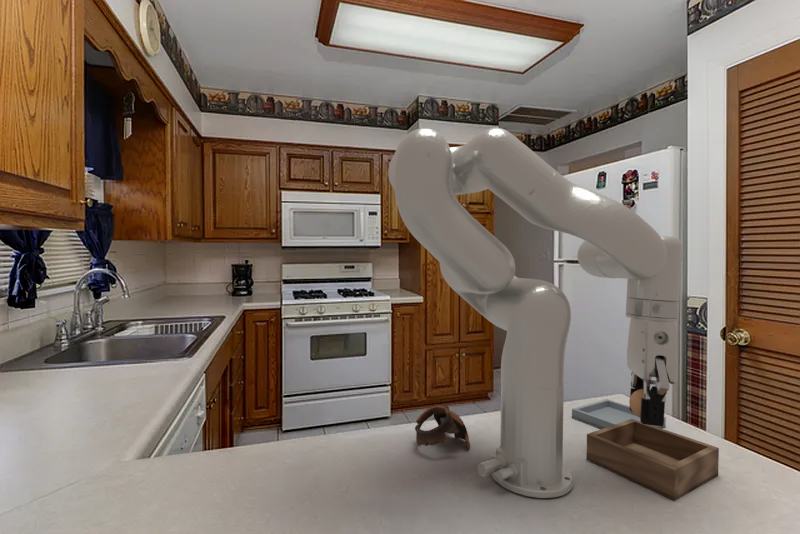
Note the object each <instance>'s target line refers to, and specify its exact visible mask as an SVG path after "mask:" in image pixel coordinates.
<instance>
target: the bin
mask: <svg viewBox="0 0 800 534" xmlns="http://www.w3.org/2000/svg"><path fill="white" fill-rule="evenodd" d="M719 453H720V448H719V447H717V446H715V445H711V444H709V443H707V442H703V441H700V440H697V439H695V438H691V437H688V436H685V435H683V434H682V435H681V434H678V433H676V432H673V431H670V430H666V429H664V428H662V429H661V428H658V427H655V426H652V425H647V424H642V423H641V422H640V421H637V420H634V419H630V420H627V421H624V422H621V423H618V424H615V425H612V426H609V427H606V428H603V429H600V428H599V429H598V430H595V431H592V432H589V433H587V434H586V460H587V461H588V462H590V463H593V464H595V465H597V466H599V467H601V468H603V469H606V470H607V471H610V472H612V473H614V474H616V475H618V476H621V477H622V478H625V479H627V480H629V481H631V482H633V483H635V484H637V485H640V486H642V487H643V488H646V489H648V490H650V491H653V492H654V493H657V494H659V495H661V496H663V497H664V498H668V499H670V500H672V501H674V502H675V501H676V500H679V499H680V498H682V497H684V496H685V495H687V494H688V493H690V492H692V491H694V490H696V489H697V488H699V487H700V486H703V485H704V484H706V483H708V482H709V481H711V480H713V479H715V478H716V477H718V476H719V462H720V461H719V460H720V459H719V458H720V457H719Z"/></svg>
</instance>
